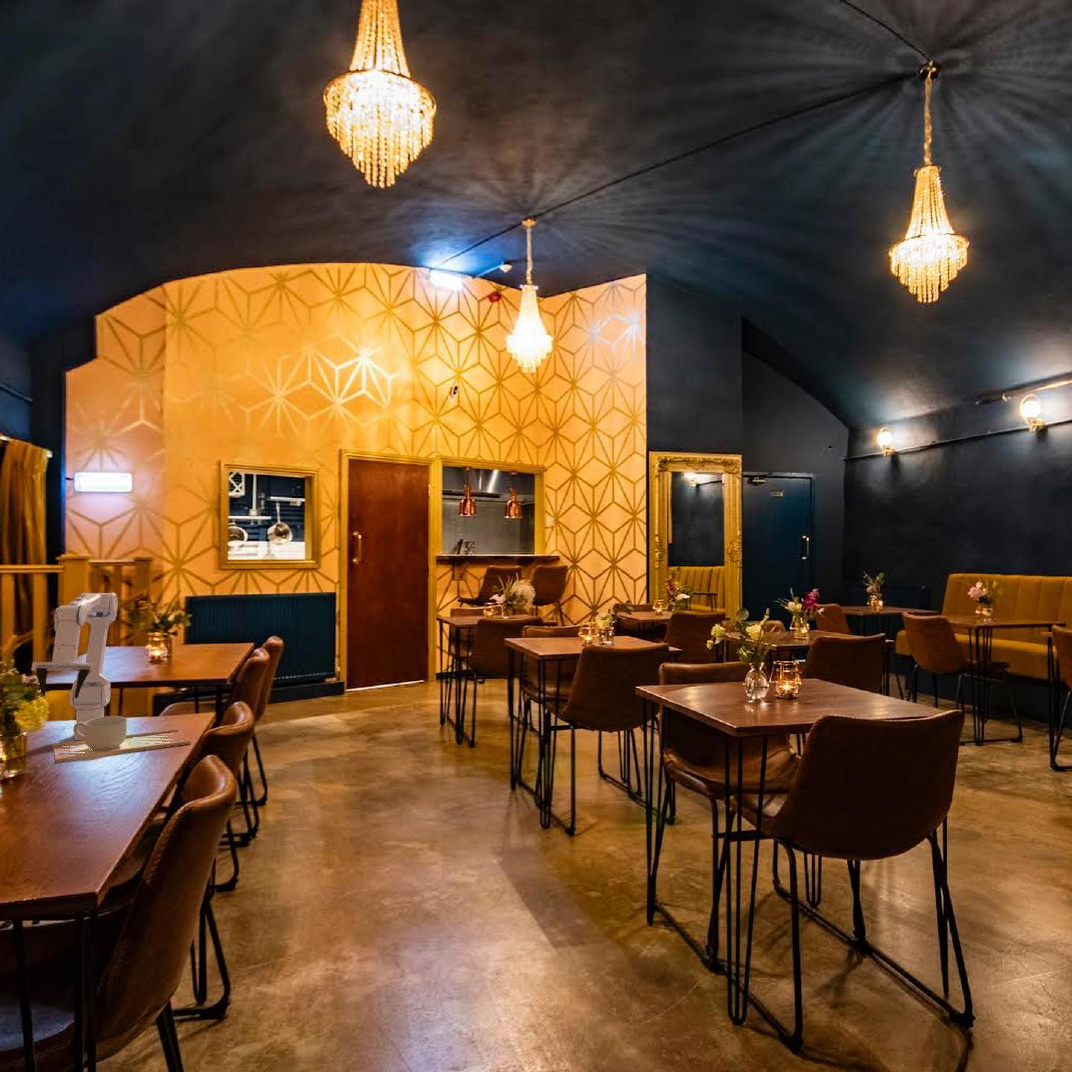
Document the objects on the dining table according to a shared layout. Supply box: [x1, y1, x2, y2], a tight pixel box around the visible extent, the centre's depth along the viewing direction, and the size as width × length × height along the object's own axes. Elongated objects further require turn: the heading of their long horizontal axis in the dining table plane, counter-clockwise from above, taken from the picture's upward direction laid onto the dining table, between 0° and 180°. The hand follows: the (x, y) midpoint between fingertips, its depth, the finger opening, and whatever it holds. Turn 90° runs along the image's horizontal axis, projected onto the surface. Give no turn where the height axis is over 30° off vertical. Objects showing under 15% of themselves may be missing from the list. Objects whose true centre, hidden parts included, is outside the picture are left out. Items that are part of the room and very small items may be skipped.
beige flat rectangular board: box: [51, 728, 191, 763], centre depth 217 cm, size 19×33×1 cm, turn 126°
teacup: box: [72, 715, 128, 751], centre depth 214 cm, size 14×11×8 cm
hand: (59, 697), depth 203 cm, fingers open, 7 cm apart
